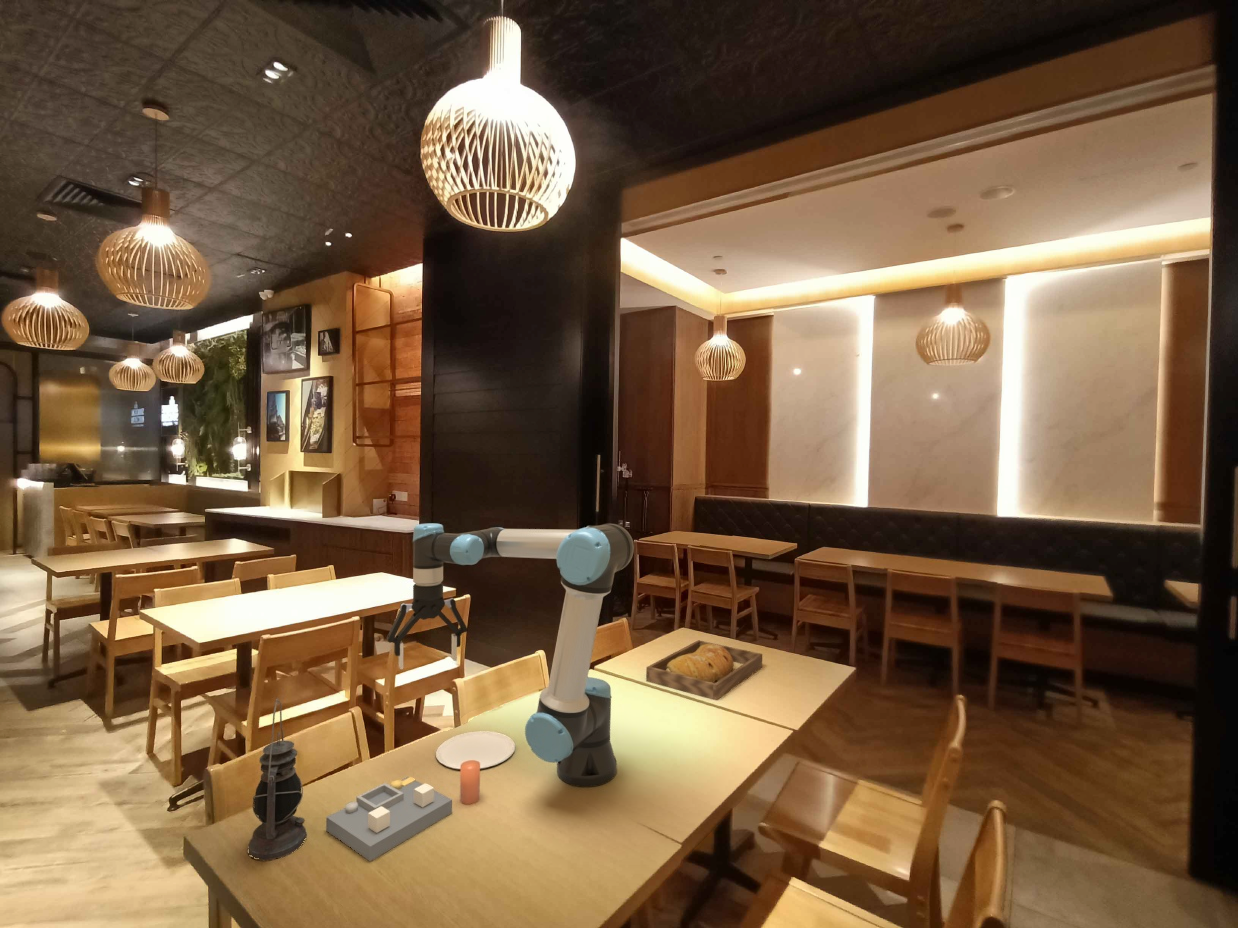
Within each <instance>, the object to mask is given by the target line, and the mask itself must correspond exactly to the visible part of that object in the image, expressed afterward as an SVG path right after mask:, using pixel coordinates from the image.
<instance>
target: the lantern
mask: <svg viewBox="0 0 1238 928" xmlns="http://www.w3.org/2000/svg"><path fill="white" fill-rule="evenodd" d="M277 704H279V722H280V724H279V725H280V731H281V732H279V731H277V735H276V736H277V737H276V739H277V740H276V741H274V733H275V717H276V710H277ZM282 721H283V719H282V702H281V701H280V700H279V697H277V698H276V699H275V704H274V709H273V714H272V725H271V726H272V727H271V728H272V729H271V739H270V740H271V741H270V743H269V744H267V745H265V746H264V747H263V749H262V753H263V754H262V755H261V756H260V757H259V760H258V762H259V763H260V764H261V765H260V771H261V773H262V774H261V775H260V781H259V783H258V785H257V787H256V789H255V794H254V796H253V797H252V799H253V800H252V812H253V814H254V816H255V817H256V818H257V819H258V821H259V822H260V823H261V824H259V825H258V826H257V827H256V828H255V829H254V830H253V832H252V836H251V839H250V840H249V843H248V846H249V853H247V855H248V854H249V855H252V856H253V857H252V858H254V857H255V858H259V859H257V860H256V861H259V860H268V861H273V860H272V859H274V860H277V859H276V858H279V859H282V858H284V857H286V855H287V856H289V855H291V854H293V853H295V852H296V851H297V850H299V849H300V848H301V847H302V846H301V844H302V843H304V842H303V841H305V840H304V839H305V838H307V836H308V833H307V831H306V827H305V826H304V824H305V821H306V820H305V818H304V817H301V816H296V815H295V814H296V813H297V810H298V807H299V805H300V804H301V801H302V799H303V794H304V788H303V783H302V781H301V778H300V777H299V775H298V774H297V772H296V769H297V768H296V767H295V765H296V763H297V762H296V761H297V759H296V756H298V750H297V749H296V748H294V747H295V743H294V742H293V741H291V740H284V732H283V731H284V730H283V723H282ZM305 842H306V841H305ZM304 844H305V843H304ZM300 846H301V847H300ZM299 847H300V848H299ZM298 848H299V849H298ZM296 849H297V850H296ZM295 850H296V851H295ZM294 851H295V852H294ZM292 852H293V853H292ZM281 857H282V858H281ZM252 858H251V859H252Z"/></svg>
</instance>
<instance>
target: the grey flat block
mask: <svg viewBox="0 0 1238 928" xmlns="http://www.w3.org/2000/svg"><path fill="white" fill-rule="evenodd" d="M423 784H424V783H422V782H419V781H417V780H416V779H415V778H414V777H412V776H406V777H403V778H402V779H395V780H392V781H391V783H390V784H388V783H386V782H384V783H381V784H380V785H378V786H376V787H373V788H372V789H369V790H367V791H365V792H364V793H361V794H360V795H358V796H356V801H351V802H348V803H346V804H345V807H343V808H342V809H340V810H338V811H336V812H333V813H332V814H330V815H328V816H326V818H325V819H326V820H325V821H326V822H325V823H326V827H325V829H326V830H325V831H326V832H327V833H328V832H329V833H328V834H329V835H331V836H333V837H334V836H335V837H334V838H336V839H337V838H338V839H339V840H338V839H337V840H338V841H340V840H341V841H342V843H343V844H344V843H345V844H344V845H346V846H347V847H348V846H349V848H350V847H351V848H352V850H353V851H354V850H355V851H354V852H356V853H357V854H358V853H359V854H358V855H360V856H361V855H362V856H361V857H362V858H365V859H366V860H367V861H368V862H372V861H374V860H376V859H377V858H379V857H380V856H382V855H384V854H385V853H388V852H389V851H391V850H393V849H394V848H396V847H397V846H399V845H400V844H402V843H404V842H405V841H408V840H409V839H411V838H412V837H414V836H417V834H419V833H421V832H423V831H424V830H425V829H427V828H429V827H431V826H432V825H433V826H434V824H435V823H437V822H439V821H441V820H443V819H444V818H446V817H448V816H449V815H451V814H453V799H452V798H450V797H448V796H446V795H445V794H442V793H440V792H438V791H437V790H435V789H434V801H433V802H431V803H430V804H428V805H426V806H424V807H421V806H419V805H417V804H415V803H414V789H415V788H417V787H419V786H421V785H423ZM381 806H382V807H384V808H385V809H387V810H389V811H390V826H388V827H386V828H385V829H383V830H381V831H379V832H378V833H376V832H374V831H373V830H371V829H370V828H368V813H369V812H371V811H373V810H375V809H377V808H379V807H381ZM341 841H340V842H341ZM351 848H350V849H351Z"/></svg>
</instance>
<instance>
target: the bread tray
mask: <svg viewBox="0 0 1238 928" xmlns="http://www.w3.org/2000/svg"><path fill="white" fill-rule="evenodd" d="M705 644H715V643H713V642H708V641H704V640H700V639H699V640H696V641H695V642H692V643H690V644H689V645H686V646H684V647H682V648H680V649H679V650H677V651H675V652H673V653H671V654H669V655H667V656H665V657H663V658H661V659H660V660H658V661H655V662H654V663H652V664H650V665H648V666H646V667H645V668H646V671H645V673H646V678H645V681H646V682H647V683H652V684H656V685H659V686H663V687H666V688H670V689H673V690H677V691H680V692H684V693H689V694H692V695H695V696H699V697H703V698H706V699H709V700H710V699H711V700H714V701H717V700H719V699H720V698H722V697H723V696H725V694H727V693H729V692H730V691H731V690H733V689H734V688H735V687H737V686H738V685H739V684H741V683H743V682H744V681H745V680H746V679H747V678H749V677H750V676H752V675H753V674H755V673H756V672H758V671H759V670H760V669H761V668H762V667H763V653H759V652H754V651H752V650H751V651H750V650H746V649H740V648H736V647H731V646H727V645H723V644H718V643H716V644H717V645H719V646H722V647H723V648H725V649H726V650H727V651H728V652H729V653H730V655H731V657H732V659H733V663H739V664H741V665H740V666H739V667H737V668H736V669H734V670H732V671H731V672H730V674H728V675H727V676H725V677H724V678H722V679H721V680H719V681H715V682H714V683H712V682H708V681H704V680H700V679H696V678H692V677H688V676H684V675H680V674H677V673H673V672H669V671H666V669H667V668H666V667H667V664H668V663H669V662H670V661H672V660H673V659H676V658H677V657H679V656H682V655H686V654H690V653H694V652H696V650H697V649H698V648H699V647H700V646H702V645H705Z"/></svg>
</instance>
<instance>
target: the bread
mask: <svg viewBox="0 0 1238 928" xmlns="http://www.w3.org/2000/svg"><path fill="white" fill-rule="evenodd" d="M717 644H718V643H714V644H705V645H702V646H700V647H699V648H698V649H697V650H696V652H694V653H690V654H686V655H682V656H679V657H677V658H676V659H673V660H672V661H670V662H669V663H668V664H667V667H666V668H667V669H666V671H669V672H673V673H677V674H680V675H684V676H688V677H692V678H696V679H700V680H704V681H708V682H712V683H716V682H718V681H719V680H721V679H722V678H724V677H725V676H727V675H728V674H730V673H731V672H733V669H734V665H735V663H734V661H733V659H732V657H731V655H730V653H729V652H728V651H727V650H726V649H725V648H723V647H722V646H719V645H720V644H719V645H717Z"/></svg>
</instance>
